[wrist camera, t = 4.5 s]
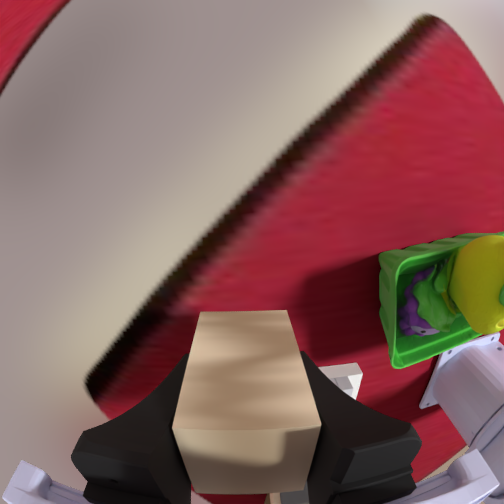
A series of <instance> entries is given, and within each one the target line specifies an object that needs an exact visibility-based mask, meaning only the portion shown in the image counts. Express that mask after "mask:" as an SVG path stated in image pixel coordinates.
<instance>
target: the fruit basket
mask: <svg viewBox="0 0 504 504" xmlns="http://www.w3.org/2000/svg"><path fill="white" fill-rule="evenodd" d="M379 263H380V266H381V268H382V269H381V270H380V274H379V298H380V302H381V307H380V310H379V316H380V319H381V322H382V325H383V329H384V332H385V335H386V339H387V342H388V346H389V357H390V362H391V365H392V367H393V368H396V369H401V368H405V367H407V366H410V365H413V364H416V363H418V362H421V361H423V360H426V359H429V358H431V357H433V356H435V355H438V354H441V353H443V352H445V351H448V350H450V349H452V348H454V347H457V346H459V345H462V344H464V343H466V342H468V341H470V340H472V339H474V338H476V337H478V336H480V335H482V334H486V335H487V334H493V333H496V332H498V331H500V330H502V329H504V232H499V233H466V234H462V235H457V236H456V237H454V238H444V239H440V240H436V241H433V242H432V243H430V244H427V243H422V244H418V245H413V246H409V247H407V248H405V249H404V250H399V249H395V250H390V251H386V252H382V253H380V254H379Z"/></svg>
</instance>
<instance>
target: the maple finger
mask: <svg viewBox="0 0 504 504" xmlns="http://www.w3.org/2000/svg"><path fill="white" fill-rule="evenodd" d="M320 428H321V421H320V418H319V414H318V411H317V408H316V404H315V401H314V398H313V394H312V391H311V388H310V384H309V381H308V378H307V374H306V371H305V368H304V365H303V361H302V358H301V355H300V351H299V348H298V345H297V342H296V339H295V335H294V332H293V329H292V326H291V322H290V319H289V316H288V313H287V310H275V311H240V312H200V316H199V320H198V324H197V327H196V331H195V335H194V339H193V343H192V347H191V351H190V355H189V359H188V363H187V367H186V371H185V375H184V379H183V383H182V387H181V391H180V396H179V400H178V404H177V408H176V413H175V417H174V422H173V426H172V429H173V432H174V435H175V438H176V441H177V444H178V447H179V450H180V453H181V456H182V459H183V462H184V464H185V467H186V470H187V472H188V475H189V478H190V480H191V483H192V485H193V488H194V490H195V492H196V493H206V494H266V493H280V492H291V491H299V490H303V489H304V486H305V483H306V480H307V476H308V473H309V470H310V466H311V463H312V459H313V455H314V452H315V448H316V444H317V440H318V436H319V432H320Z"/></svg>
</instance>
